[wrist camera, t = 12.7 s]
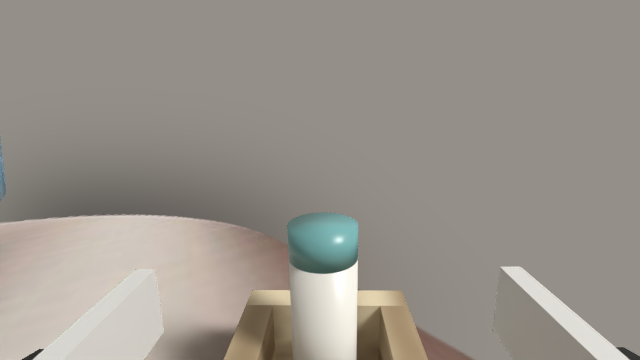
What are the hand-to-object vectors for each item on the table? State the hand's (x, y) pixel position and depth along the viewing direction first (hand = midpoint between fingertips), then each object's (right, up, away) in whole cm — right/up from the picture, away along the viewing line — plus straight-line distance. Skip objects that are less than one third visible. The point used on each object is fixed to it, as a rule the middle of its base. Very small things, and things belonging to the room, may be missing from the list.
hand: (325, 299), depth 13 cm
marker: (0, -12, +9) cm, 15 cm away
